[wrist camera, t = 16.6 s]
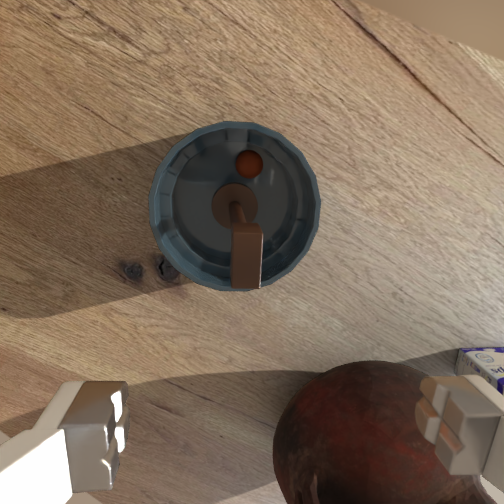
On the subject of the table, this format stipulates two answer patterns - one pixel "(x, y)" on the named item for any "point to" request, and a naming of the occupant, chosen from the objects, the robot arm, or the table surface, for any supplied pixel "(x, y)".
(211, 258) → the bowl
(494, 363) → the box
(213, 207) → the brown wooden masher
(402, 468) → the jug
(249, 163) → the ball
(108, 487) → the robot arm
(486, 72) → the table surface
